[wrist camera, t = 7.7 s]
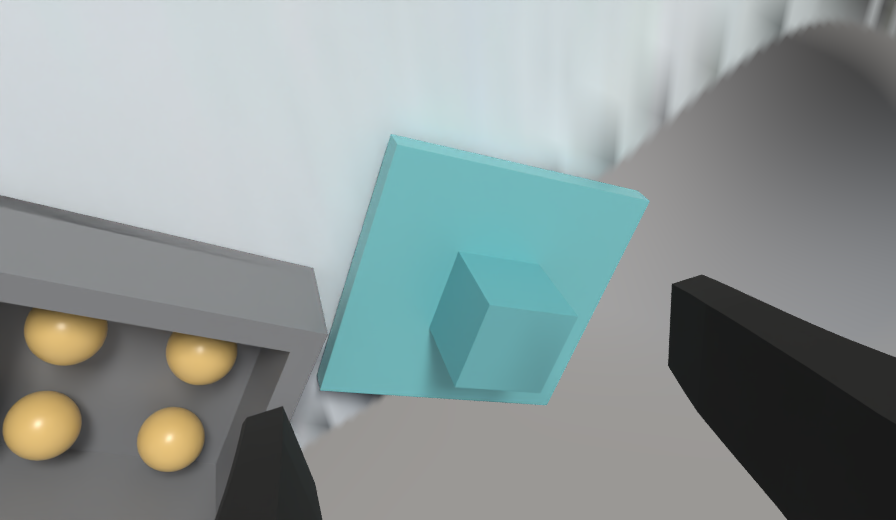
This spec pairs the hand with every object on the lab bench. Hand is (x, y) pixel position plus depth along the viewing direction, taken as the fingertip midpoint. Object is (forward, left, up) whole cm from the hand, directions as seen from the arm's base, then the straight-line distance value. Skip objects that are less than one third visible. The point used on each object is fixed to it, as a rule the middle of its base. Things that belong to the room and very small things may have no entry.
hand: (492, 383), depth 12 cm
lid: (-3, -5, -10) cm, 11 cm away
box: (-9, +5, -10) cm, 14 cm away
